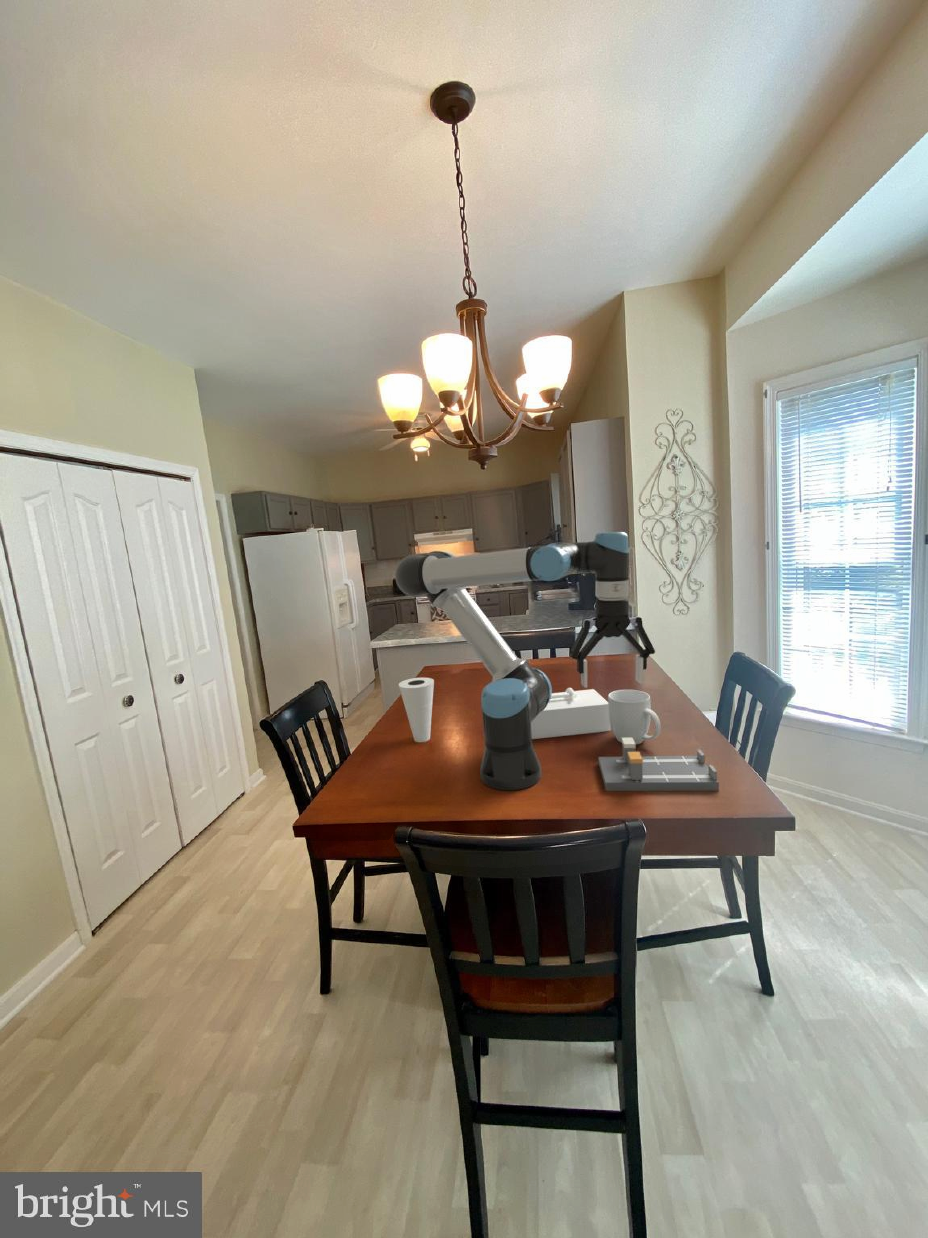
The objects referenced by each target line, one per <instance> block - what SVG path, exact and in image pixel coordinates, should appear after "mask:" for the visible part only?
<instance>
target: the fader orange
mask: <svg viewBox="0 0 928 1238" xmlns="http://www.w3.org/2000/svg"><path fill="white" fill-rule="evenodd" d="M627 754H628V768H629V774H630V777H631V780H643V773H642V763H643V759H642V757H641V756H642V755H641V752H640V751H635V752H627Z"/></svg>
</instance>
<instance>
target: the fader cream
mask: <svg viewBox="0 0 928 1238" xmlns="http://www.w3.org/2000/svg"><path fill="white" fill-rule="evenodd" d="M621 747H622V750H621V752H622V757H623V759H624V761H625V763H628V754H627V752H636V744H635V742H634V740H633V738H622V743H621Z"/></svg>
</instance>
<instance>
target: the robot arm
mask: <svg viewBox="0 0 928 1238" xmlns="http://www.w3.org/2000/svg"><path fill="white" fill-rule="evenodd" d="M629 567H630V546H629V535H628V533H626V532H624V531H616V532H615V531H612V532H611V531H610V532H597V533H596V534H595V536H594V541H586V542H585V541H582V542H581V541H579V542H578V541H577V542H575V541H573V542H571V541H570V542H564V541H563V542H562V541H561V542H554V543H549V544H546V545H542V546H541V545H540V546H533V547H527V548H526V547H524V548H515V549H508V550H501V551H492V552H483V553H474V554H467V555H461V556H454V555H453V554H452V553H450V552H447V551H441V550H440V551H439V550H436V551H435V550H434V551H430V552H424V553H413V554H408V556H405V557H404V558H402V559H401V560H400V561H399V563H398V564H397V566H396V569H395V573H394V578H395V582H396V583H395V584H396V585H397V587H398V589H399V590H401V592H402V593H403V594H405V595H406V596H408V597H412V598H422V597H423V598H424V597H426V598H427V600H428V601H429V602H430V603H431V605H432V607H434V608H435V607H436V608H441V609H442V611H443V612H444V613H445V615H446V616H447V617H448V619H449V620H450V622H451V623H452V624H453V625H454V627H455V628H456V630H457V631H458V632H459V634H460V635H461V636H462V637H463V639H464V640H465V642H466V643H467V644H468V646H469V647H470V648H471V649H472V651H473V652H474V654H475V656H477V658H478V659H479V660H480V662H481V663H482V665H483V666H484V667H485V669H486V670H487V671H488V672H489V674H490V675H491V676H492V681H491V682H489V683H488V684H487V685H485V686H484V687H483V689H482V691H481V694H480V695H481V702H480V706H481V707H480V708H481V715H482V724H483V736H484V747H485V748H484V751H483V756H482V760H481V764H480V769H479V773H480V780H481V782H482V783H483V784H484V785H486V786H487V787H489V788H492V789H494V790H495V789H496V790H500V791H518V790H524V789H527V788H530V787H532V786H534V785H536V784H537V783H538V782H539V781H540V780H541V778H542V766H541V763H540V759H539V758H538V755H537V752H536V751H535V748H534V746H533V739H532V733H531V722H532V721H533V720H534V719H535V717H536V716H537V715H538V714H539V713H540V712H541V711H543V710H544V709H545V708H546V706H547V705H548V703H549V701H550V699H551V695H552V693H553V692H552V691H553V688H552V684H551V680H550V679H549V677H548V676H547V675H546V673H545V672H543V671H542V670H540V669H538V668H534V667H532V666H531V664H530V662H529V661H528V660H527V659H524V658H520V657H518V656H517V655H516V653H515V652H514V651H513V650H512V648H511V647H510V646H509V644H508V643H507V641H506V640H505V639H504V638H503V636H502V635H501V634H500V632H499V631H498V630H497V629H496V628H495V625H493V623H492V622H491V621H490V619H489V618H488V617H487V616H486V614H485V612H484V611H483V610H482V609H481V608H480V607H479V605H478V604H477V602H476V600H475V599H474V598H473V597H472V596H471V594H470V593H469V592H468V590H467V588H468V587H470V588H471V587H479V586H489V585H500V584H511V583H512V584H513V583H522V582H525V583H526V582H534V581H535V582H538V581H546V582H552V581H558V580H560V579H562V578H565V577H566V576H569V575H573V574H594V576H595V597H596V598H597V599H596V600H595V618H594V619H593V620H591V619H587V618H583V619H582V621H581V628H580V630H579V632H578V634H577V637H576V638H575V641H574V643H573V645H572V647H571V649H570V652H569V653H568V654H569V656H570V658H571V659H573V660H576V671H577V673H578V674H580V679H581V680H580V681H581V682H580V683H581V686H582V687H583V688H588V661H587V659H586V658H587V656H589V654H590V653H591V652H592V650H593V649H595V647H596V646H597V644H599V642H600V641H601V640H603V639H604V638H606V639H608V638H613V637H615V638H620V637H621V636H622V637H623V638H624V639H625V640H626V641H627V642H628V643H629V644H630V645H631V646H632V648H633V649H635V651H636V652H637V653H638V654H636V655H635V682H636V683H638V684H639V685H644V684H643V683H644V670H647V668H648V667H647V665H648V662H647V660H648V658H649V657H650V655H654V654H655V653H656V649H655V648H654V646H653V644H652V642H651V640H650V638H649V636H648V634H647V632H646V631H645V630H646V629H645V628H644V625H643V619H642V617H640V616H638V615H634V616H632V617H629V604H630V603H629V600H628V598H627V597H629V594H630V593H629V586H630V585H629V583H630V582H629V581H630V580H629V579H630V578H629V576H630V575H629V572H630V569H629ZM630 624H631V626H633V627H634V629H635V632H636V633H637V635H638V637H639V639H640V641H641V643H642V645H643V647H642V646H641V644H640V643H639V642H638V641H637V640H636V639H635V638H634V637H633V635H632V634H631V633H630V631H629V630H628V627H629V626H630ZM593 626H594V627H595V628H596V629H595V630H594V631H593V634H592V636H591V637H590V638H589V639H588V640H587V639H586V638H587V637H588V634H589V632H590V630H591V629H592V628H593ZM585 640H587V642H586V643H585V644H584V642H585ZM583 645H584V646H583Z"/></svg>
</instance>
